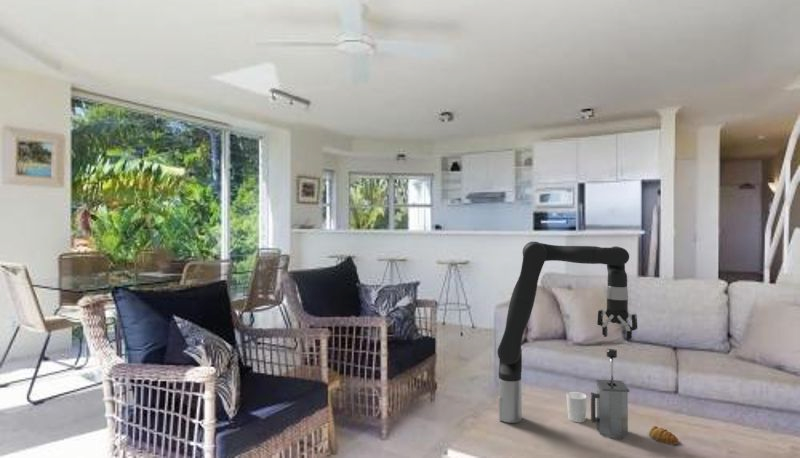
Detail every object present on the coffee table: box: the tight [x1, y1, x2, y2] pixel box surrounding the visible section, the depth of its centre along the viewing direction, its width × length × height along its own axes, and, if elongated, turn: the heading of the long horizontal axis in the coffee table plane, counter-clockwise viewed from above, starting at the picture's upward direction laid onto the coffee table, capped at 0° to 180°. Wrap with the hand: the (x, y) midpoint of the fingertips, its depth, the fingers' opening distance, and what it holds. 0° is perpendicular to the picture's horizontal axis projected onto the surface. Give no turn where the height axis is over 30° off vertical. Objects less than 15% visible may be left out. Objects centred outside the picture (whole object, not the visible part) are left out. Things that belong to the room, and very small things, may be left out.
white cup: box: [565, 391, 588, 423], centre depth 194 cm, size 8×8×10 cm
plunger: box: [606, 348, 618, 386], centre depth 181 cm, size 8×8×15 cm
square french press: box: [590, 379, 630, 440], centre depth 182 cm, size 13×10×19 cm
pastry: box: [648, 425, 679, 446], centre depth 175 cm, size 9×7×4 cm
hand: (616, 338), depth 185 cm, fingers open, 8 cm apart
